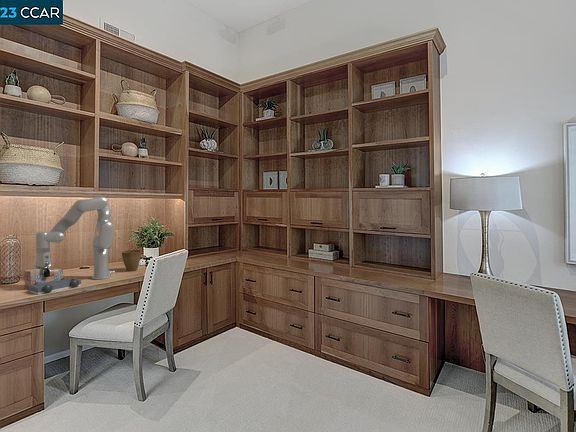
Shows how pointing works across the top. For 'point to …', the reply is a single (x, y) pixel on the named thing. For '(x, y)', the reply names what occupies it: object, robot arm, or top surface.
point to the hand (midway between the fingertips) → (43, 276)
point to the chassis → (54, 285)
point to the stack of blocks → (41, 276)
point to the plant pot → (131, 259)
